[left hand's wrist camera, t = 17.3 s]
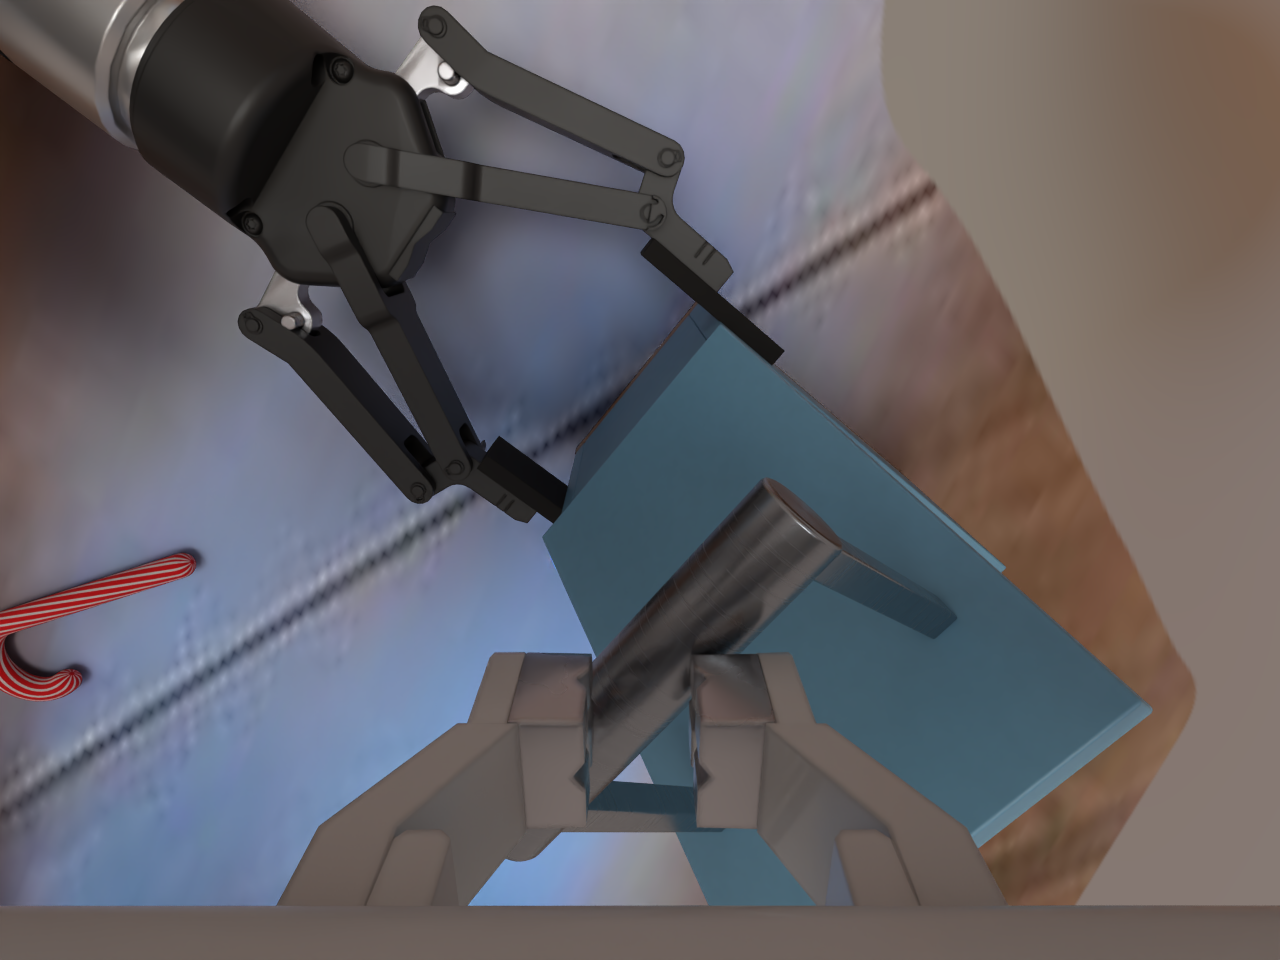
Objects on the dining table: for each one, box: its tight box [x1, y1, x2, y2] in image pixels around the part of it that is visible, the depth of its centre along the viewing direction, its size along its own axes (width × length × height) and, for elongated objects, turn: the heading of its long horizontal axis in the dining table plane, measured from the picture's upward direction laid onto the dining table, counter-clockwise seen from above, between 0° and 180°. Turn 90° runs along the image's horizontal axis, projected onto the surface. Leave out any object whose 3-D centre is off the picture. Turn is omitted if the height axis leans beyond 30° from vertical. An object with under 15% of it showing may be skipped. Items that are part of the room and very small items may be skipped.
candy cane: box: [0, 553, 196, 701], centre depth 39 cm, size 6×15×2 cm, turn 109°
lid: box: [505, 325, 1153, 906], centre depth 16 cm, size 15×10×8 cm
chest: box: [561, 302, 1006, 572], centre depth 32 cm, size 15×10×11 cm
